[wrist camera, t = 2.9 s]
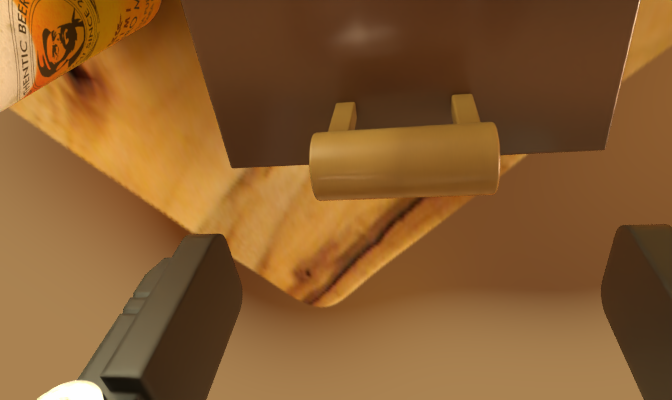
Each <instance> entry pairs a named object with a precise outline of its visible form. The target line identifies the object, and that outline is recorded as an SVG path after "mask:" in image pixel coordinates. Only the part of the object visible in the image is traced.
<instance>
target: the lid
mask: <svg viewBox="0 0 672 400" xmlns="http://www.w3.org/2000/svg"><path fill="white" fill-rule="evenodd" d="M640 1H641V0H181V3H182V7H183V10H184V13H185V17H186V20H187V23H188V26H189V30H190V33H191V36H192V40H193V43H194V46H195V49H196V53H197V56H198V59H199V63H200V66H201V69H202V73H203V76H204V79H205V82H206V86H207V89H208V92H209V96H210V99H211V102H212V106H213V109H214V112H215V115H216V119H217V122H218V125H219V129H220V132H221V135H222V138H223V142H224V145H225V148H226V152H227V155H228V158H229V162H230V165H231V167H232V168H250V167H270V166H291V165H309V169H310V179H311V185H312V189H313V193H314V195H315V197H316V199H317V200H319V201H328V200H356V199H385V198H413V197H442V196H470V195H493V194H495V193H496V192H497V189H498V185H499V179H500V155H513V154H533V153H553V152H573V151H593V150H605V148H606V145H607V141H608V136H609V132H610V128H611V124H612V119H613V115H614V111H615V107H616V102H617V98H618V94H619V90H620V85H621V81H622V77H623V73H624V69H625V64H626V60H627V56H628V52H629V47H630V43H631V39H632V35H633V31H634V26H635V22H636V18H637V14H638V9H639V5H640Z"/></svg>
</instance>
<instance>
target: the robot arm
mask: <svg viewBox="0 0 672 400" xmlns="http://www.w3.org/2000/svg"><path fill="white" fill-rule="evenodd" d="M133 294H134V295H133V298H130V299H129V301H128V303H127V304H126V306H125V307H124V309H123V314H120V315H119V316H118V318H117V320H116V321H115V323H114V324H113V326H112V327H111V329H110V330H109V332H108V333H107V335H106V336H105V338H104V340H103V341H102V343H101V344H100V346H99V347H98V349H97V350H96V352H95V353H94V355H93V356H92V358H91V360H90V361H89V363H88V364H87V366H86V367H85V369H84V370H83V372H82V373H81V375H80V376H79V378H78V379H77V380H76V381H71V382H68V383H64V384H62V385H59V386H57V387H55V388H53V389H51V390H50V391H48V392H46V393H45V394H43V395H42V396H41V397H39V398H38V399H37V400H206V399H207V396H208V393H209V391H210V388H211V385H212V383H213V380H214V378H215V375H216V372H217V369H218V367H219V364H220V362H221V359H222V356H223V354H224V351H225V349H226V346H227V343H228V341H229V338H230V335H231V333H232V330H233V327H234V325H235V322H236V319H237V317H238V314H239V312H240V308H241V304H242V285H241V281H240V278H239V275H238V273H237V270H236V267H235V264H234V261H233V258H232V255H231V252H230V249H229V247H228V244H227V241H226V239H225V237H224V236H223V235H222V234H190V235H187V236H185V237H184V239H183V240H182V241H181V243H180V245H179V246H178V248H177V250H176V251H175V253H174V255H173V256H172V258H164V259H163V260H162V261H161V262H160V263H158V264H157V265H156V266H155V267H154V268H153V269H151V270H150V271H149V272H148V273H147V274H146V275H145V276H144V278H143V279H142V281H141V282H140V284H139V285H138V287H137V289H136V290H135V292H134V293H133ZM601 297H602V304H603V309H604V312H605V314H606V317H607V319H608V321H609V323H610V326H611V328H612V330H613V332H614V335H615V337H616V339H617V341H618V343H619V346H620V348H621V350H622V352H623V354H624V357H625V359H626V361H627V363H628V365H629V368H630V370H631V372H632V374H633V377H634V379H635V381H636V383H637V385H638V388H639V390H640V392H641V394H642V396H643V398H644V400H672V227H671V226H669V225H666V224H658V225H657V224H656V225H623V226H620V227H619V228H618V229H617V231H616V234H615V237H614V240H613V244H612V248H611V251H610V255H609V258H608V262H607V266H606V269H605V273H604V276H603V280H602V285H601Z"/></svg>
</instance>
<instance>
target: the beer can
mask: <svg viewBox="0 0 672 400" xmlns="http://www.w3.org/2000/svg"><path fill="white" fill-rule="evenodd" d="M160 4H161V0H0V112H1V111H3V110H5V109H6V108H8V107H10V106H11V105H13V104H15V103H16V102H18V101H20V100H21V99H23V98H25V97H26V96H28V95H30V94H31V93H33V92H35V91H36V90H38V89H40V88H41V87H43V86H45V85H46V84H48V83H50V82H51V81H53V80H55V79H56V78H58V77H60V76H61V75H63V74H65V73H66V72H68V71H70V70H71V69H73V68H75V67H76V66H78V65H80V64H81V63H83V62H85V61H86V60H88V59H90V58H91V57H93V56H95V55H96V54H98V53H100V52H101V51H103V50H105V49H106V48H108V47H110V46H111V45H113V44H115V43H116V42H118V41H120V40H121V39H123V38H125V37H126V36H128V35H130V34H131V33H133V32H135V31H136V30H138V29H140V28H141V27H143V26H145V25H146V24H148V23H149V22H150V21H151V20H152V19H153V18H154V16H155V15H156V13H157V11H158V9H159V6H160Z"/></svg>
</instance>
